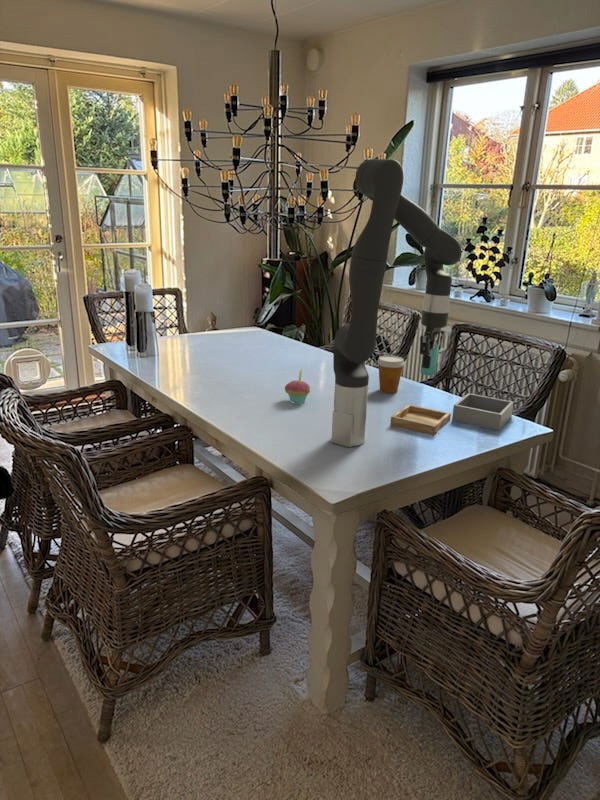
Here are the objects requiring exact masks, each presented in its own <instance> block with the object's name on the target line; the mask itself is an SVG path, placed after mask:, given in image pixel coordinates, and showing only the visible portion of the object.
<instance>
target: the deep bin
mask: <svg viewBox="0 0 600 800" xmlns="http://www.w3.org/2000/svg"><path fill="white" fill-rule="evenodd" d="M514 403H515V402H514V401H511V400H507V399H506V400H505V399H500V398H496V397H491V396H490V397H489V396H487V395H481V394H480V395H479V394H476V393H475V394H474V393H470V392H468V393H467V394H465V395H463V397H461V398H460V399H459V400H458V401H457V402H455V403H454V404H453V409H452V417H451V421H454V422H457V423H458V422H459V423H463V424H467V425H473V426H478V427H481V428H486V429H490V430H495V431H500V430H502V428H503V427H504V426H505V425H506V423H508V422H509V420H510V419H511V418H512V417H513V416H512V415H513V408H514Z"/></svg>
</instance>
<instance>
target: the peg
mask: <svg viewBox="0 0 600 800" xmlns="http://www.w3.org/2000/svg"><path fill="white" fill-rule="evenodd" d="M430 346H431V345H430ZM438 349H439V344H435V348H434V349H433V350H432V354H431V361H430V367H429V368H428V369H427V368H423V367H422V361H423V355H422V354H421V363H420V365H421V366H420V374H421V375H424V376H435V375H436V371H437V363H438V354H439V350H438ZM426 351H427V349H426Z"/></svg>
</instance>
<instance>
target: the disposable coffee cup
mask: <svg viewBox="0 0 600 800" xmlns="http://www.w3.org/2000/svg"><path fill="white" fill-rule="evenodd" d="M376 361H377V364H378V379H379V381H378V382H379V391H380V392H382V393H384V394H396V393H398V389H399V385H400V380H401V376H402V371H403V368H404V365H405V361H404V358H402V357H400V356H396V355H381V356H379V357H378V360H376Z"/></svg>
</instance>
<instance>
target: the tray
mask: <svg viewBox="0 0 600 800" xmlns="http://www.w3.org/2000/svg"><path fill="white" fill-rule="evenodd" d="M451 415H452V413H451V412H446V411H441V410H437V409H432V408H427V407H423V406H418V405H413V404H407V405H406V406H404V407H403V408H401V409H400V410H398V411H397V412H395V413H394V414H393V415H391V416H390V423H389V426H391V427H394V428H398V429H402V430H408V431H410V432H416V433H419V434H420V433H421V434H424V435H429V436H432V437H435V436H436V435H437V434H438V431H439V430H440V429H442V427H443V426H445V425H446V424H447V423H448V422H449V421H450V420H451ZM434 435H435V436H434Z"/></svg>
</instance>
